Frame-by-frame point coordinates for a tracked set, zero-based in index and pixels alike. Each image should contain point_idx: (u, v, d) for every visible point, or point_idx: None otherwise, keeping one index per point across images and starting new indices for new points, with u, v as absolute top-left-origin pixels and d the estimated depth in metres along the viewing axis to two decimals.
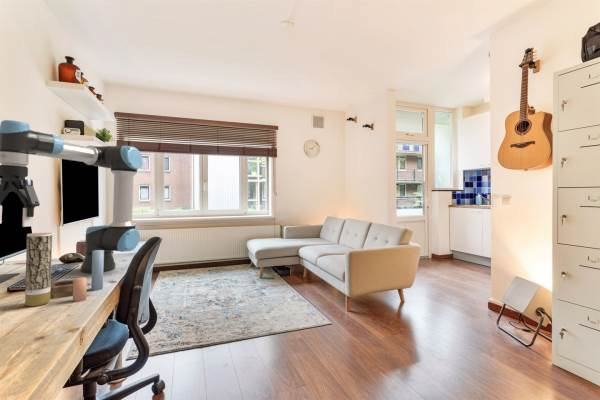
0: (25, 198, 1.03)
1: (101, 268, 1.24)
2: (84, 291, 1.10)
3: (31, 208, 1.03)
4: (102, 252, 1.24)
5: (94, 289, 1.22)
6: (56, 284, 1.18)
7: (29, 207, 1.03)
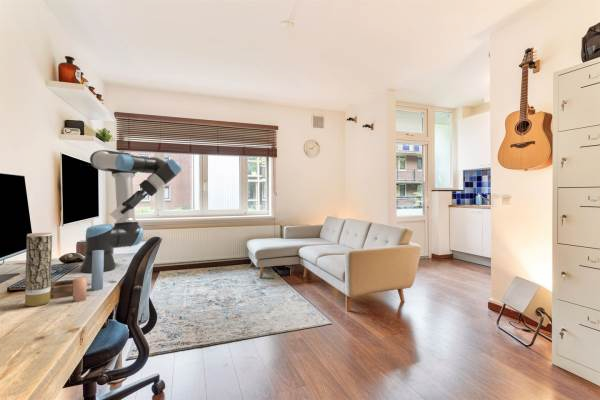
0: None
1: (101, 268, 1.24)
2: (84, 291, 1.10)
3: None
4: (102, 252, 1.24)
5: (94, 289, 1.22)
6: (56, 284, 1.18)
7: None
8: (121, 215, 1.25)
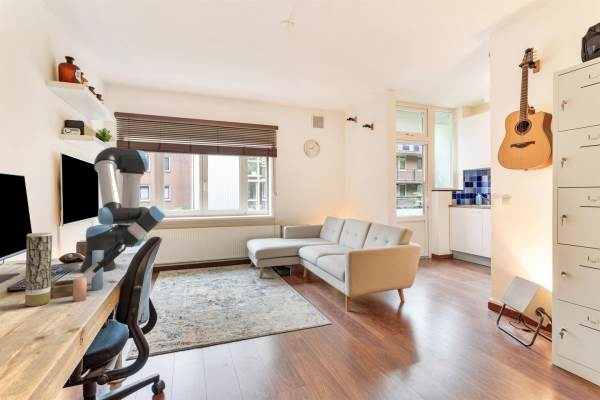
0: None
1: None
2: (84, 291, 1.10)
3: None
4: (102, 252, 1.24)
5: (94, 289, 1.22)
6: (56, 284, 1.18)
7: None
8: (93, 274, 1.21)
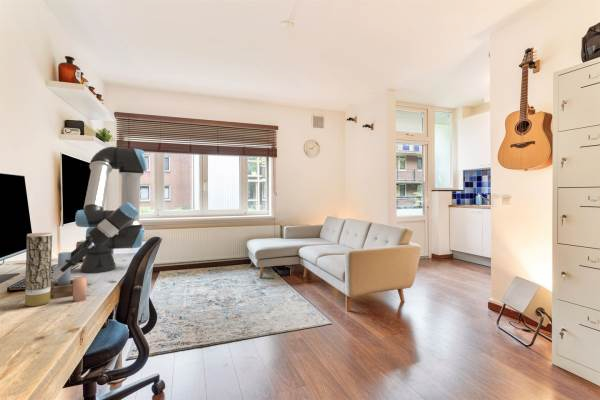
0: None
1: (68, 271, 1.17)
2: (84, 291, 1.10)
3: None
4: (69, 254, 1.17)
5: None
6: (56, 284, 1.18)
7: None
8: (61, 273, 1.12)
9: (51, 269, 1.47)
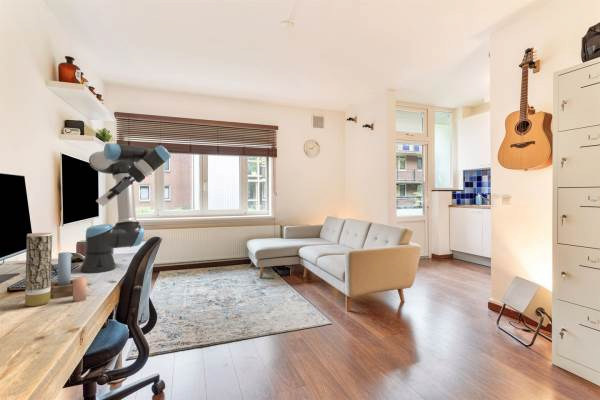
0: None
1: (68, 271, 1.17)
2: (84, 291, 1.10)
3: None
4: (69, 254, 1.17)
5: None
6: (56, 284, 1.18)
7: None
8: (107, 200, 1.23)
9: (53, 269, 1.47)
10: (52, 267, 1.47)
